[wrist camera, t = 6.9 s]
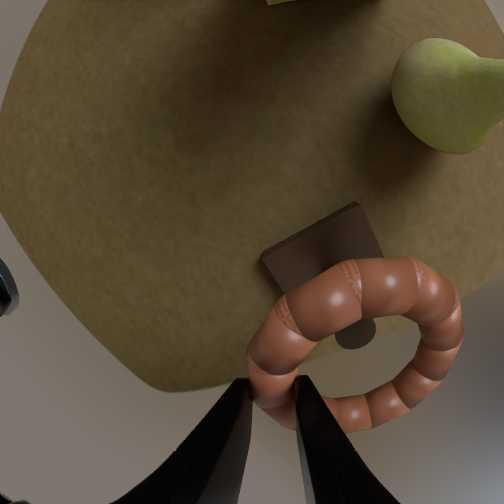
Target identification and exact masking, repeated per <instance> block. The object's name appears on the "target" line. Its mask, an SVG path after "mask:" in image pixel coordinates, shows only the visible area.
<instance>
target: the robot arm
mask: <svg viewBox="0 0 504 504" xmlns="http://www.w3.org/2000/svg"><path fill="white" fill-rule="evenodd" d="M11 302H12V299H11V297H10V295H9V294H8V292H7V290H6V289H5V287H4V286H3V284H2V282H1V280H0V317H1V316H3V314H4V313H5V311H6V309H7V308H8V306H9V305H10V303H11ZM252 404H253V399H252V394H251V388H250V383H249V379H248V378H236V379H235V380H234V381H233V382H232V384H231V385H230V386H229V388H228V389H227V390H226V391H225V393H224V394H223V395H222V396H221V397H220V399H219V400H218V401H217V402H216V403H215V405H214V406H213V407H212V408H211V410H210V411H209V412H208V413H207V414H206V415H205V417H204V418H203V419H202V420H201V421H200V422H199V424H198V425H197V426H196V427H195V428H194V430H193V431H192V432H191V433H190V434H189V435H188V436H187V437H186V439H185V440H184V441H183V442H182V443H181V444H180V445H179V447H178V448H177V449H176V451H174V452H173V453H172V454H171V455H170V456H169V457H168V458H167V460H166V461H164V462H163V463H162V464H161V465H160V466H159V468H157V469H156V470H155V471H154V472H153V473H152V474H150V475H149V476H148V477H147V478H146V479H144V480H143V481H142V482H141V483H139V484H138V485H137V486H135V487H134V488H133V489H132V490H130V491H129V492H128V493H126V494H125V495H124V496H122V497H121V498H119V499H118V500H116V501H114V502H112V503H109V504H237V502H238V497H239V493H240V488H241V483H242V479H243V473H244V469H245V464H246V460H247V455H248V450H249V444H250V438H251V424H252ZM295 412H296V433H297V443H298V450H299V456H300V463H301V469H302V476H303V482H304V489H305V497H306V503H307V504H400V503H399V502H398V501H397V500H396V499H395V498H394V497H393V495H391V493H390V492H389V491H388V490H387V489H386V488H385V487H384V486H383V485H382V484H381V483H380V482H379V481H378V479H377V478H376V477H375V476H374V475H373V474H372V472H371V471H370V470H369V468H368V467H367V466H366V465H365V463H364V462H363V460H362V459H361V457H360V456H359V454H358V453H357V451H355V448H354V447H353V445H352V444H351V442H350V441H349V439H348V437H347V436H346V435H345V433H344V431H343V430H342V428H341V427H340V425H339V423H338V422H337V420H336V419H335V417H334V416H333V414H332V413H331V411H330V409H329V408H328V406H327V405H326V403H325V401H324V400H323V398H322V397H321V395H320V394H319V392H318V390H317V389H316V387H315V386H314V384H313V382H312V381H311V379H310V378H309V376H308V375H298V376H296V377H295ZM0 504H31V503H30V502H28V501H26V500H21V501H15V502H14V501H12V500H11V499H9V498H8V497H7V496H5V495H4V494H2V493H1V492H0Z"/></svg>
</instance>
